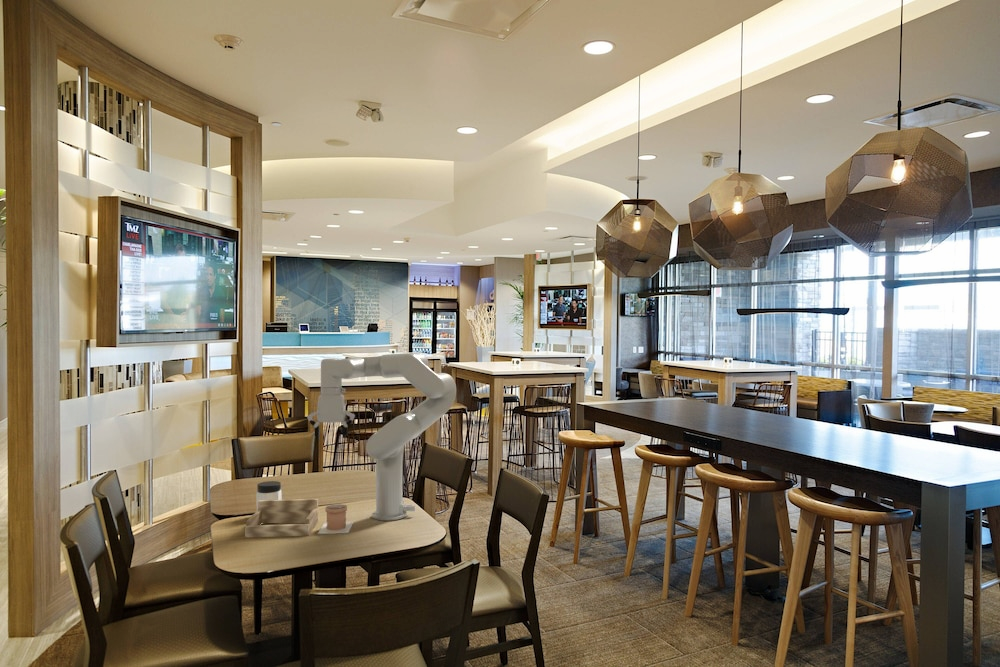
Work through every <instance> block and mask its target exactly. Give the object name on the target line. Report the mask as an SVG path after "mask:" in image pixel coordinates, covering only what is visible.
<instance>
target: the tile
mask: <svg viewBox="0 0 1000 667" xmlns="http://www.w3.org/2000/svg"><path fill="white" fill-rule="evenodd" d="M353 525H354V521H348V522H347V521H346V528H344V529H341V530H328V529H327V522H323V525H322V526H321V528H319V531H318V532H317V535H326V534H327V535H328V534H329V535H332V534H349V533H350V531H351V529H352V526H353Z"/></svg>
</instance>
